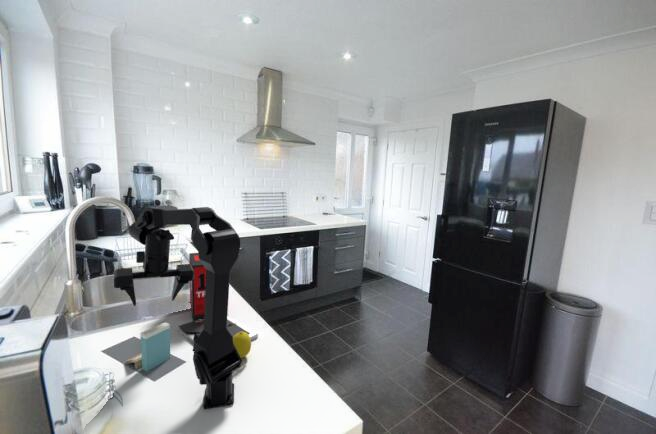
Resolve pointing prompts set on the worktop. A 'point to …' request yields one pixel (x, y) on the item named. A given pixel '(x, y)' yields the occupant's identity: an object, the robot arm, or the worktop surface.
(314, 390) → the worktop surface
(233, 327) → the picture frame
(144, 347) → the card deck
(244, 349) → the lemon
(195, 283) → the cleaning product box
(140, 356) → the ramp
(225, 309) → the robot arm
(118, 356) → the mat
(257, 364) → the worktop surface
